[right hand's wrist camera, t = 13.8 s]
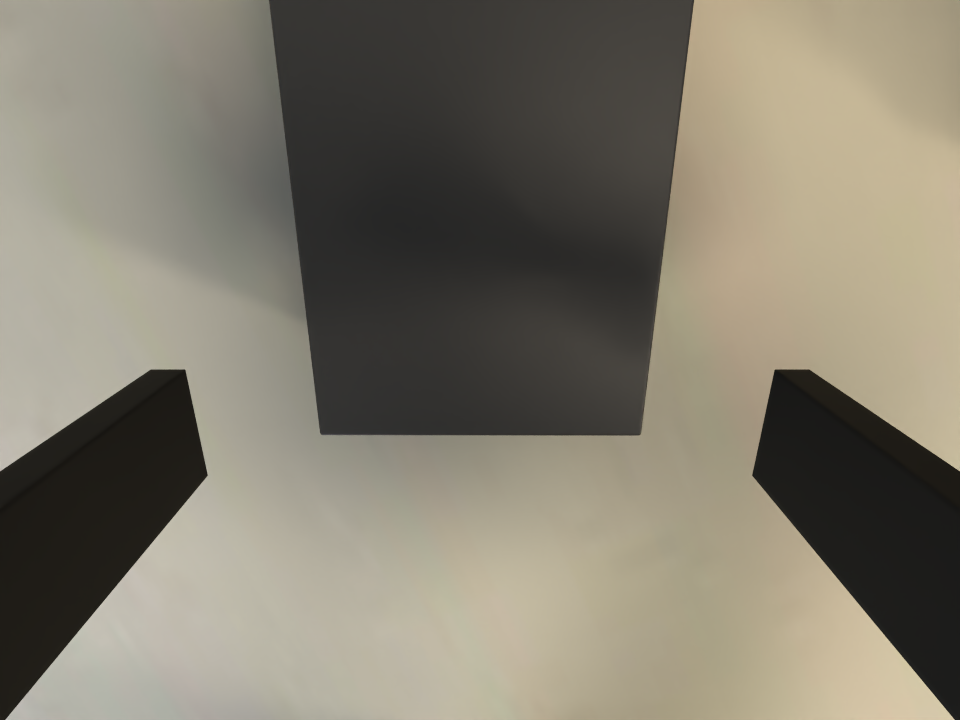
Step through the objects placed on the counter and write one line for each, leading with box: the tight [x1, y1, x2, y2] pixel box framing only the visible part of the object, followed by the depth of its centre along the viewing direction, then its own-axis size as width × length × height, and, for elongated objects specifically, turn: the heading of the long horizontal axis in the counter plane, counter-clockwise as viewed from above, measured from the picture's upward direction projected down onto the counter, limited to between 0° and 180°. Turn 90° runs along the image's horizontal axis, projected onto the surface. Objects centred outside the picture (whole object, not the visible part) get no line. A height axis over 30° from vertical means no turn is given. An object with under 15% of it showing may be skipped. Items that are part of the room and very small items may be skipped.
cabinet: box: [269, 0, 694, 435], centre depth 19 cm, size 19×11×8 cm, turn 0°
